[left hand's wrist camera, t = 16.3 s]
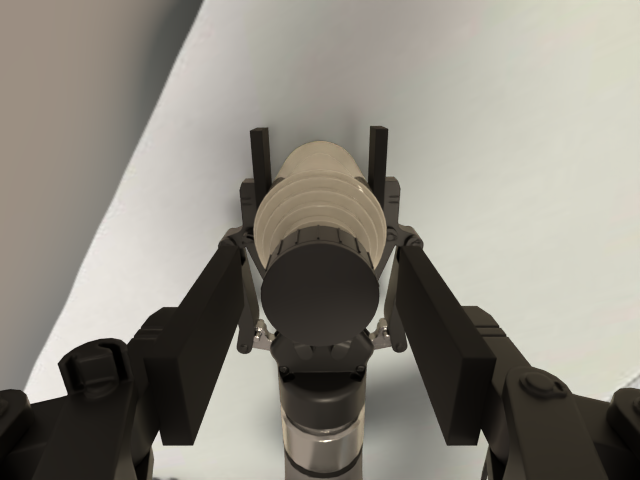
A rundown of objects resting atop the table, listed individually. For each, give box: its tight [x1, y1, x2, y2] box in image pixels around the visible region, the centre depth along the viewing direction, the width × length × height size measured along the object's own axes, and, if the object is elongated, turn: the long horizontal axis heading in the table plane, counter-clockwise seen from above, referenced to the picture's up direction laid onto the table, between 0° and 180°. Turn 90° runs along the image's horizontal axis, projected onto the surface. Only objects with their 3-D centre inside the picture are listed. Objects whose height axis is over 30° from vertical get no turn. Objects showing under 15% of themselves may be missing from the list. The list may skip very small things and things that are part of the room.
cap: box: [261, 225, 379, 346], centre depth 14 cm, size 4×4×2 cm
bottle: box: [254, 141, 387, 270], centre depth 22 cm, size 7×7×19 cm
